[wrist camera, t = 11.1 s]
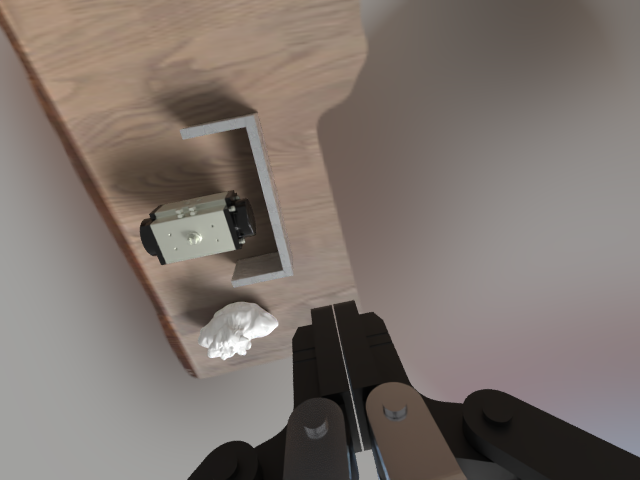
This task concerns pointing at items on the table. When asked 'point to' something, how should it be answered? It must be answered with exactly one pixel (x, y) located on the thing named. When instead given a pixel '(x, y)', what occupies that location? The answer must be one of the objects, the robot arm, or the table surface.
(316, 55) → the table surface
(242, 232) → the pneumatic valve
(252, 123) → the cradle
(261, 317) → the bust
